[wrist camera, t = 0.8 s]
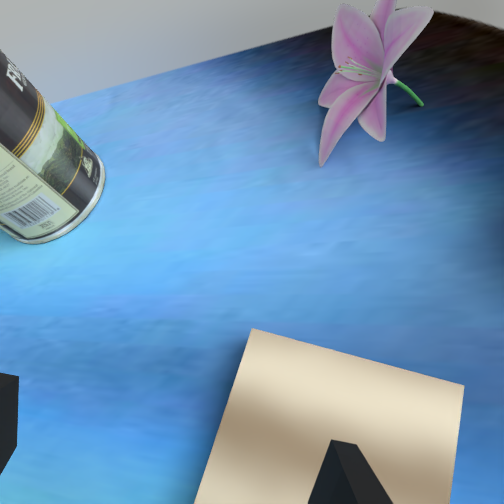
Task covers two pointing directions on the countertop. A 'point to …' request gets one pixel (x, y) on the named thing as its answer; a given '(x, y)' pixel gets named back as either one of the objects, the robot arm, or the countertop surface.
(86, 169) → the coffee can
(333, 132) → the lily
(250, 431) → the birch slab
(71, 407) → the countertop surface
